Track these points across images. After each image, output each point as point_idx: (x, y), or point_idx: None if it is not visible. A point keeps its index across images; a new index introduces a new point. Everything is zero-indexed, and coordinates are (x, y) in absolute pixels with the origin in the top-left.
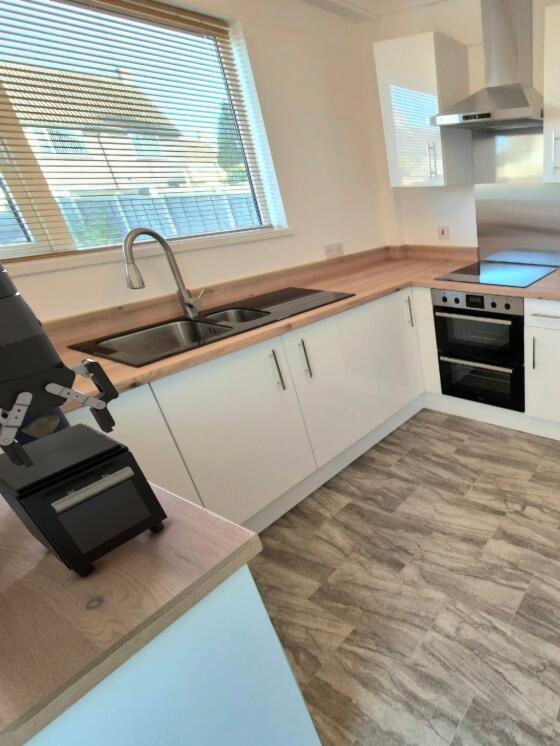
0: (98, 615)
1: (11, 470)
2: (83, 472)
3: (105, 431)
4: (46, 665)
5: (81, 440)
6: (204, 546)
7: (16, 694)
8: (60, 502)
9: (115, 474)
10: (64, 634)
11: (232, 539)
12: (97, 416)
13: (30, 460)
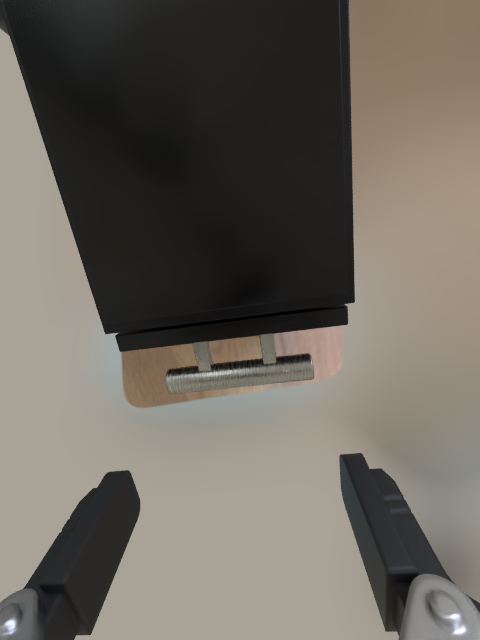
0: (191, 352)
1: (84, 164)
2: (236, 331)
3: (342, 488)
4: (148, 376)
5: (280, 118)
6: (307, 345)
7: (128, 387)
8: (181, 390)
9: (283, 379)
10: (163, 349)
11: (334, 363)
12: (371, 581)
13: (131, 527)
